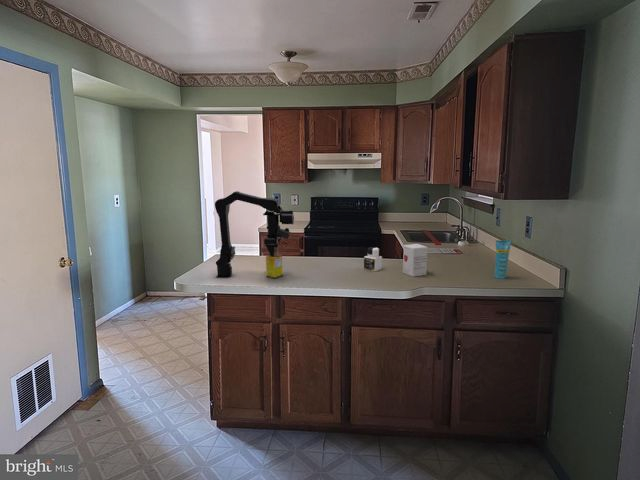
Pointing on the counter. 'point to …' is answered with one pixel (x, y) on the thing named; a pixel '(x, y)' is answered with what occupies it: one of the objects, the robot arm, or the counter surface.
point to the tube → (502, 258)
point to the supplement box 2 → (415, 260)
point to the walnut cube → (275, 252)
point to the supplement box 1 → (274, 266)
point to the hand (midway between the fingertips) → (273, 254)
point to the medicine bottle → (373, 260)
